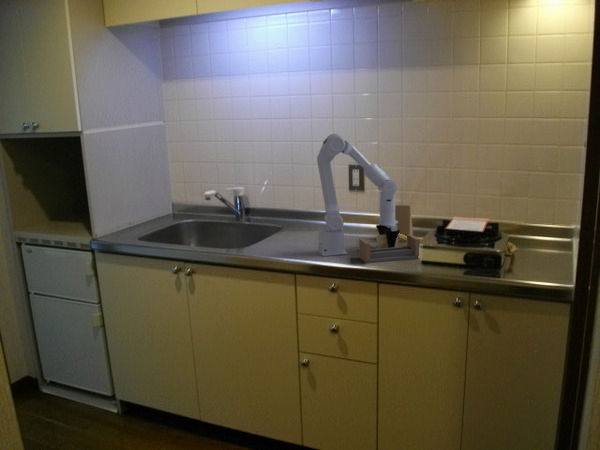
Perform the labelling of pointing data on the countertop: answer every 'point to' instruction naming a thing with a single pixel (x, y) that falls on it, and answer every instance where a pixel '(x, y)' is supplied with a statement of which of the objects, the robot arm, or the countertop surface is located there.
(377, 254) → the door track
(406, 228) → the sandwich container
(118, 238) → the countertop surface
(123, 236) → the countertop surface
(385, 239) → the door panel
